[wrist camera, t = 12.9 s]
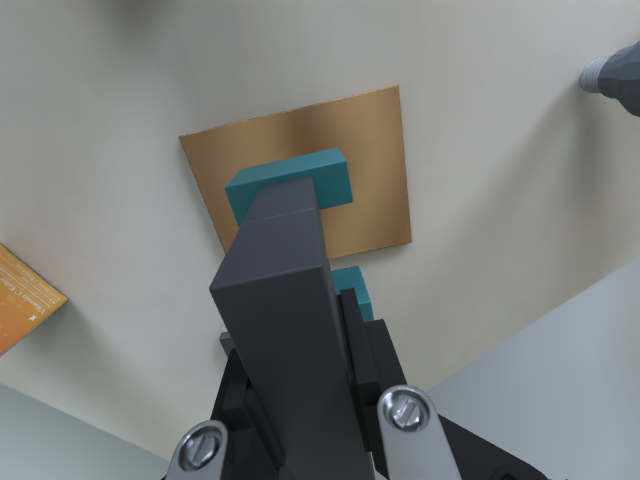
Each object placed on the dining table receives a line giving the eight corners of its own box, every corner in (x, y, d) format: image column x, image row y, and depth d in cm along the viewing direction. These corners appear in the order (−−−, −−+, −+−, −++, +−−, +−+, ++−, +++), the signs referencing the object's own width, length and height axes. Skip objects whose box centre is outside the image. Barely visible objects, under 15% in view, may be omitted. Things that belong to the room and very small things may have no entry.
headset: (285, 305, 21) (264, 524, 10) (240, 169, 17) (125, 292, 6) (363, 289, 21) (427, 496, 10) (337, 146, 17) (401, 234, 6)
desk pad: (236, 276, 30) (235, 279, 30) (180, 135, 24) (178, 136, 24) (409, 239, 30) (411, 242, 29) (396, 85, 24) (398, 84, 23)
